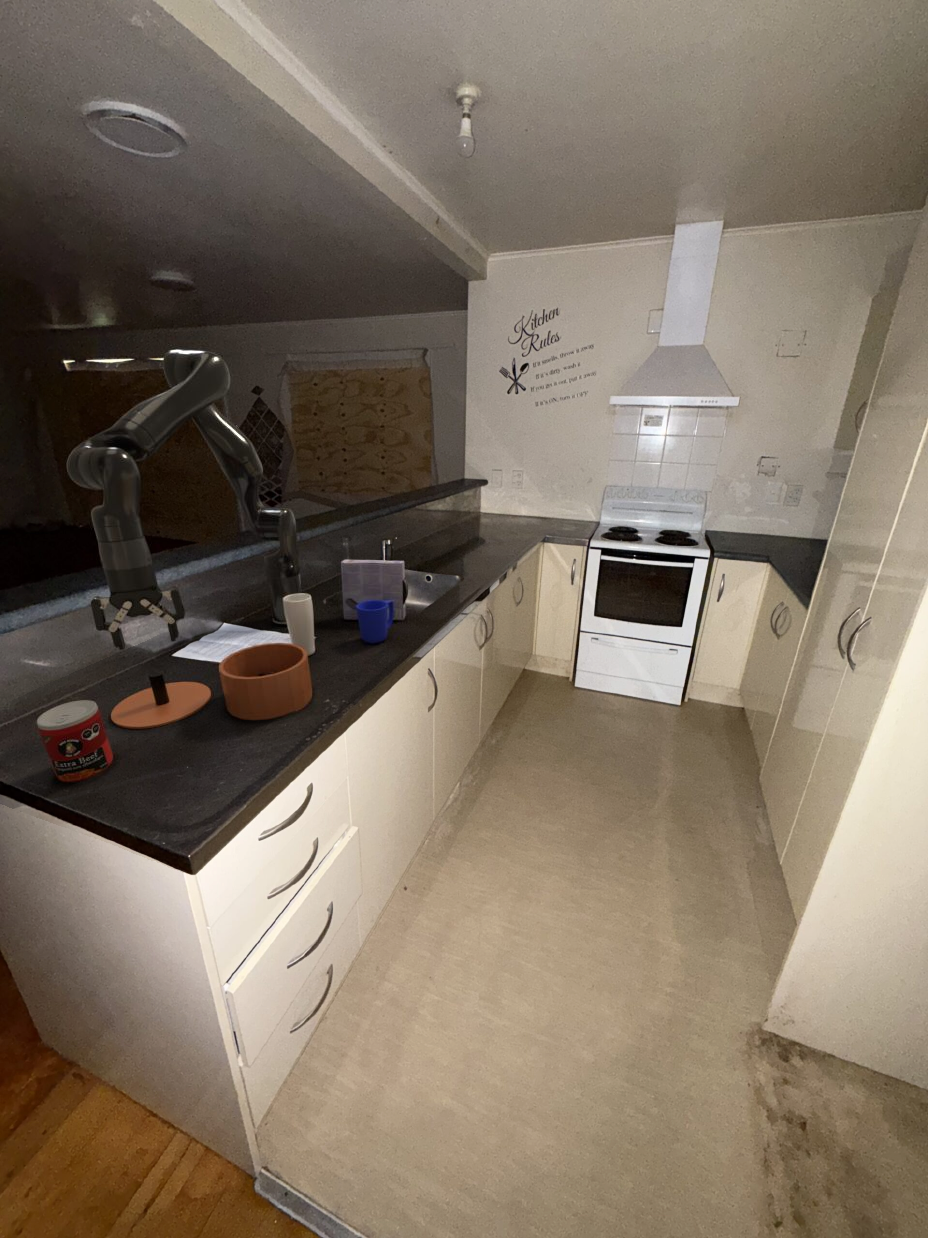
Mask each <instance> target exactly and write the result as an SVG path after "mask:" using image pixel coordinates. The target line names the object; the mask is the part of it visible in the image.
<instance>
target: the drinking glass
mask: <svg viewBox="0 0 928 1238" xmlns="http://www.w3.org/2000/svg"><path fill="white" fill-rule="evenodd" d="M283 607H284V613H285V618H286V622H287V625H286V626H287V630H288V634H289V639H290V644H294V645H298V646H301V647H302V648H304V649H305V650H306V652H307V655H308V657H309V656H312V655H313V654H315V652H316V645H315V644H316V643H315V620H314V619H315V618H314V614H315V613H314V605H313V599H312V596H311V594H309V593H304V592H302V593H297V594H291V595H288V596H285V597H284V598H283Z"/></svg>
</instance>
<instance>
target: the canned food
mask: <svg viewBox="0 0 928 1238" xmlns="http://www.w3.org/2000/svg"><path fill="white" fill-rule="evenodd" d="M36 725H37V729H38V731H39V735H40V738H41V740H42V742H43V745H44V748H45V750H46V752H47V755H48V758H49V760H50V763H51V766H52V769H53V771H54V773H55V776H56V778H57V779H58V781H60V782H62V783H63V782H64V783H76V782H81V781H85V780H87V779H90V778H93V777H95V776H97V775H99V774H100V773H102V772H104V771H105V770H106V769H108V767H110V765H111V764H112V763H113V760H114V754H113V751H112V748H111V744H110V742H109V738H108V734H107V731H106V728H105V725H104V721H103V719H102V715H101V712H100V709H99V706H98V704H97V703H96V702H95V701H94V700H90V699H81V700H73V701H70V702H69V701H68V702H65V703H62V704H59V705H57V706H55V707H52V708H50V709H48V710H46V711H45V712H43V713H42V714H41V715H39V717H38V718H37V719H36Z"/></svg>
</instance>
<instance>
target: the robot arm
mask: <svg viewBox="0 0 928 1238" xmlns="http://www.w3.org/2000/svg"><path fill="white" fill-rule="evenodd" d="M162 368H163V373H164V377H165V379H166V381H167V384H168V385H169V388H170V389H167V390H165V391H163V392H161V393H158V394H156V395H154V396H152V397H149V398H147V399H145V400H143V401H141V402H138V403H137V404H136V405H134V406H133V407H131V408H130V409H129V410H128V411H127V412H125V413H124V414H123V416H121V417H120V418H119V419H118V420H116V422H115V423H114V424H113V425H112V426H111V427H109V428H107V429H105V430H103V431H101V432H99V433H97V434H95V435H93V436H92V437H90V438H88V439H87V440H83V442H81V443H79V444H78V445H77V446H76V447H75V448H73V450H71V452H70V454H69V455H68V458H67V460H66V471H67V473H68V476H69V477H70V479H71V480H72V481H73V483H75V484H77V485H78V486H79V487H82V488H84V489H88V490H95V491H103V502H102V504H99V505H96V506H94V507H93V508H92V509H91V511H90V516H91V521H92V525H93V530H94V533H95V536H96V540H97V544H98V553H99V557H100V564H101V566H102V568H103V572H104V575H105V580H106V582H107V586H108V590H109V596H103V597H101V596H99V595H95V596H93V598H92V599H91V601H90V608H91V612H92V616H93V620H94V625H95V630H96V631H99V632H102V631H106V632H108V633H110V636H111V639H112V643H113V646H114V647H115V648H116V649H117V648H118V649H119V651H122V650H125V649H126V642H125V638H124V635H123V631H122V628H121V627H120V625H121V624H122V622H123V620H124V619H125V617H130V618H137V617H139V616H144V617H145V616H151V614H154V615H155V616H157V617H158V618H161V619H163V620H164V621H165V622H166V623H167V630H168V634H169V637H170V642H172V643H173V642H176V641H177V639H178V638H179V635H180V632H179V627H178V623H177V622H178V621H180V620H184V619H185V616H186V611H185V608H184V603H183V600H182V598H181V594H180V591H179V588H178V587H176V586H173V587H171V589H163V590H162V589H161V588H160V586H159V585H158V580H157V576H156V571H155V568H154V563H153V560H152V556H151V551H150V547H149V545H148V542H147V539H146V536H145V532H144V528H143V524H142V521H141V517H140V507H141V489H142V488H141V485H142V477H141V476H142V475H141V472H140V468H139V466H138V463H137V462H140V461H144V460H147V459H148V458H150V457H151V456H152V455H153V454H154V453H155V452H156V451H157V450H158V449H159V448H160V447H161V446H163V444H164V443H165V442H166V441H167V440H168V439H169V438H170V437H171V436H172V435H173V434H174V433H175V432H176V431H177V430H178V429H180V428H181V427H183V426H184V425H185V424H186V423H187V422H189V421H190V420H192V421H193V423H194V424H195V426H196V428H197V429H198V430H199V432H200V434H201V436H202V438H203V439H204V441H205V442H206V444H207V446H208V448H209V449H210V451H211V452H212V455H213V456H214V458H215V460H216V462H217V464H218V466H219V468H220V470H221V471H222V473H223V475H224V477H225V478H226V479H227V481H228V483H229V485H230V487H231V488H232V490H233V492H234V493H235V496H236V498H237V499H238V501H239V504H240V506H241V508H242V510H243V512H244V515H245V517H246V519H247V522H248V524H249V527H250V528H251V531H252V532H253V534H254V536H255V537H256V538H257V539H258V540H261V541H265V542H267V541H268V542H278V543H279V547H278V549H276V550H274V551H270V552H268V553H266V554H265V555H263V564H264V570H265V578H266V583H267V587H268V589H267V591H268V596H269V601H270V608H271V615H272V623H273V624H274V625H277V626H287V622H286V618H285V613H284V607H283V598H284V597H285V596H288V595H291V594H297V593H303V586H302V578H301V572H300V564H299V563H300V562H299V545H298V543H299V542H298V531H297V529H298V527H297V521H296V516H295V514H294V512H293V510H292V509H291V508H289V507H284V506H283V507H279V506H278V507H277V506H273V507H272V506H265V505H264V504H263V502H262V501H261V498H260V496H259V491H260V487H261V483H262V480H263V475H264V466H263V463H262V461H261V458H260V456H259V454H258V452H257V450H256V448H255V446H254V444H253V443H252V441H251V440H250V439H249V437H248V436H247V435H246V434H245V433H244V432H243V431H242V430H240V428H238V427H237V426H236V425H235V424H234V423H233V422H232V421H230V419H228V418H227V417H226V416H225V415H224V414H223V413H222V412H221V411H220V409H218V407H217V406H216V404H215V403H217V402H218V401H220V400H221V399H223V398H225V396H226V395H227V394H228V392H229V390H230V388H231V383H232V382H231V381H232V379H231V373H230V369H229V366H228V364H227V362H226V361H225V359H224V358H223V357H222V356H220V355H219V354H218V353H216V352H213V351H209V350H201V349H184V348H183V349H182V348H181V349H180V348H177V349H176V348H175V349H170V350H168V351H166V353H165V354H164V356H163V359H162ZM163 598H166V599H167V600H168V601H170V602H172V604H173V607H174V610H175V612H174V613H172V612H171V611H170V610H168V608H167V607H166V606H164V605H163V604H162V603H161V601H162V599H163ZM109 604H110V605H111V607H114V609H116V610H118V611H117V613H116V615H115V617H114V619H113V620H112V621H111V622H110V621H107V620H106V615H105V610H106V608H107V607H108V605H109Z"/></svg>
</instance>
